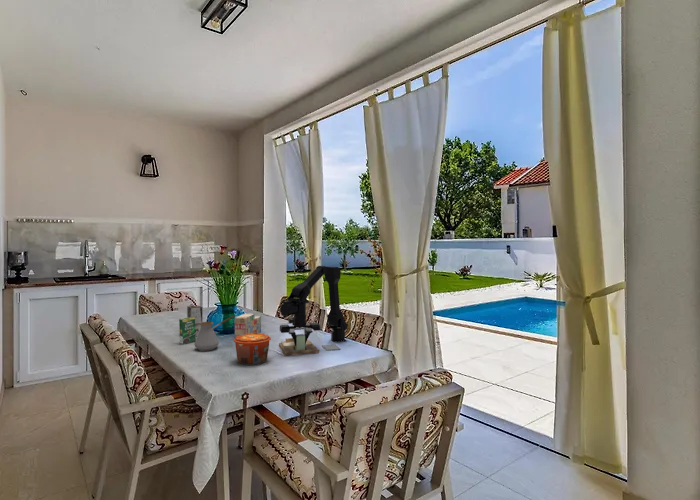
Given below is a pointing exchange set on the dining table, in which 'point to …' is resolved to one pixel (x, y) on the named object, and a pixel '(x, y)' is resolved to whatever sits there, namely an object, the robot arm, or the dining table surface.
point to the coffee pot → (208, 336)
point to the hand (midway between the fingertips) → (300, 345)
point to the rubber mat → (330, 347)
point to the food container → (252, 348)
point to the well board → (291, 350)
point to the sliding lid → (290, 343)
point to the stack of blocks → (247, 324)
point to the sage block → (300, 342)
